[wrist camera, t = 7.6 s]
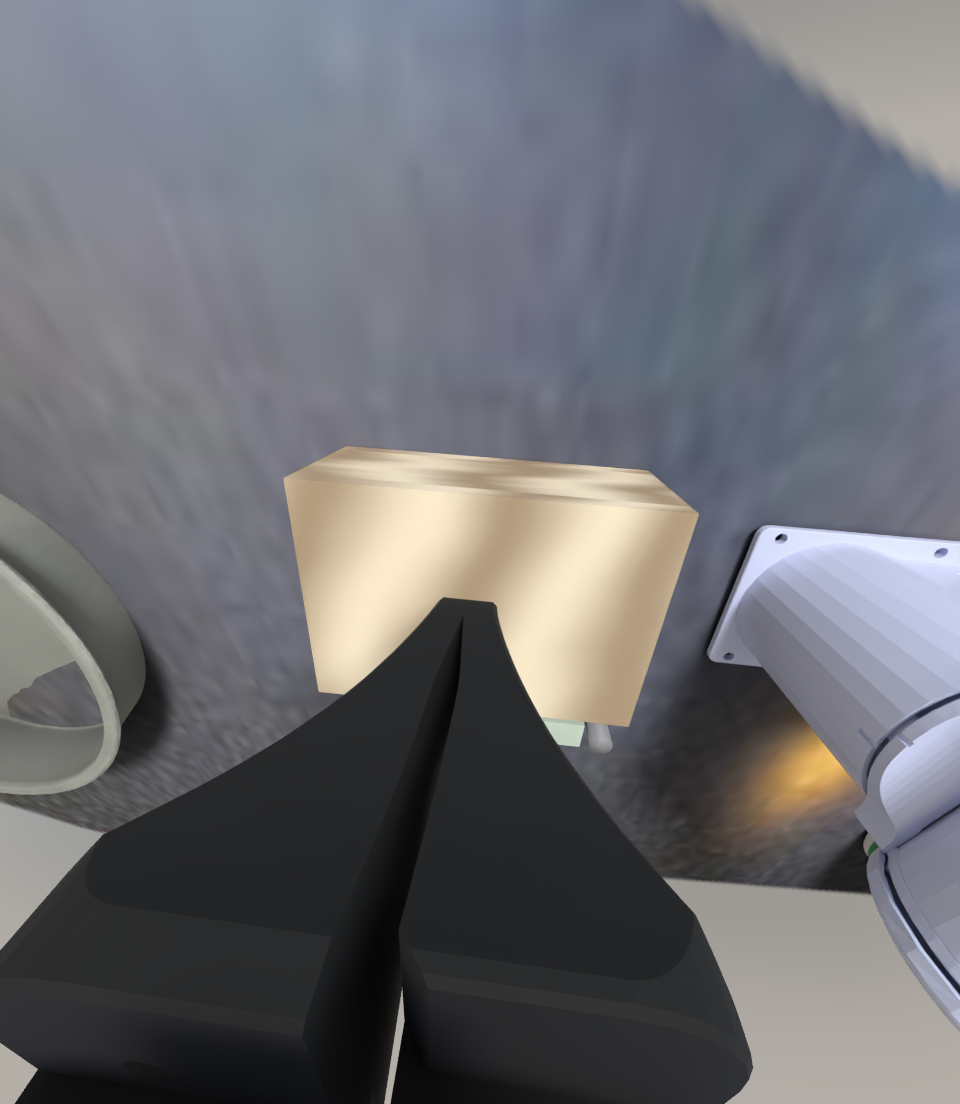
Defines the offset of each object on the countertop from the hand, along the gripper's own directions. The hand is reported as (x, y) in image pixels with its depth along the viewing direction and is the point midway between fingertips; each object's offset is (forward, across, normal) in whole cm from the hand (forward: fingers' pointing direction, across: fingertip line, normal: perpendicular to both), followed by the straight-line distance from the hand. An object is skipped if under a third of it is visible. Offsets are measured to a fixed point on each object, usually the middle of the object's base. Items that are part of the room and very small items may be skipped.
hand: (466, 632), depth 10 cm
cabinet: (+10, 0, +3) cm, 11 cm away
